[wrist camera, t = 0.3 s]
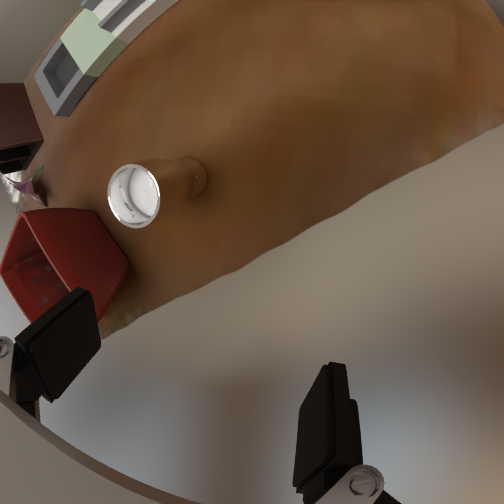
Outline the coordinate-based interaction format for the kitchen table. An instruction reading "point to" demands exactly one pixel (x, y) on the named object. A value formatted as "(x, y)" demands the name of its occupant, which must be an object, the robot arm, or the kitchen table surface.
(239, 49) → the kitchen table surface
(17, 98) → the letter holder
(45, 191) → the kitchen table surface
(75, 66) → the channel deck
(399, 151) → the kitchen table surface
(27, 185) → the lily
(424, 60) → the kitchen table surface
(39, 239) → the plant pot
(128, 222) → the beer glass
